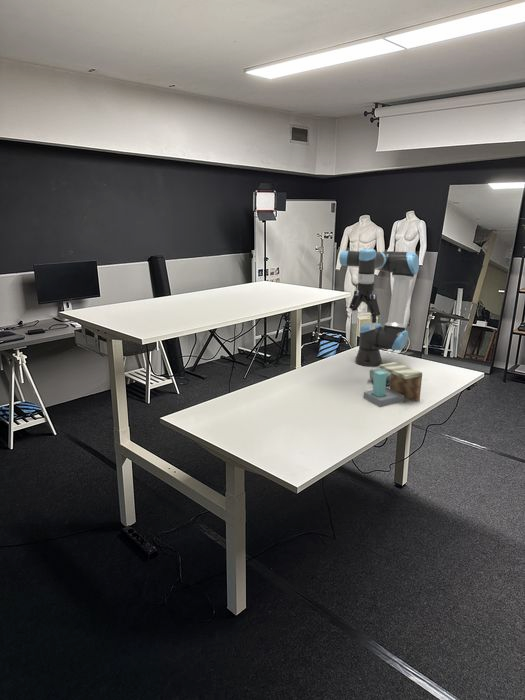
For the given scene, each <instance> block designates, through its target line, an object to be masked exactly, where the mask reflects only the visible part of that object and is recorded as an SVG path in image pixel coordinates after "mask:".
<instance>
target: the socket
mask: <svg viewBox="0 0 525 700" xmlns="http://www.w3.org/2000/svg"><path fill="white" fill-rule="evenodd" d="M363 399H365V400H367V401H368V402H371V403H372V404H374V405H375V406H378V407H379V408H380V407H385V406H389V405H393V404H399V403H404V402H405V401H404V400H405V396H404V395H402V394H400V393H398V392H396V391H394V390H392V389H390V387H387V386H386V388H385V396H384V397H380V398H378V397H376V396H374V395H373V389H372V390H367V391H364V392H363Z"/></svg>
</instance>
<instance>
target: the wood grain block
mask: <svg viewBox="0 0 525 700" xmlns="http://www.w3.org/2000/svg"><path fill="white" fill-rule="evenodd" d="M378 367H379V368H381V369H383V370H385V371H388V372H390V373H391V383H390V385H389V388H390V389H392V390H394V391H396V392H398V393H400V394H402V395H404V398H408V399H410V400H412V401H414V402H420V399H421V389H422V380H423V372H422V371H419V370H417V369H414V368H412V367H409V366H407V365H404V364H401V363H399V362H396V361H393V362H387V363H383V364H382V363H381V365H378Z"/></svg>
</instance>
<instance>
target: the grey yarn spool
mask: <svg viewBox="0 0 525 700" xmlns="http://www.w3.org/2000/svg"><path fill="white" fill-rule="evenodd" d="M377 371H383V372H385V373H387V375H386V386H390V383H391V373H390V372H388V371H385V370H383V369H381V368H379V366H372V367H371V368H370V369H369V372H368V373H369V379H370V380H371V381H372V382H373V380H374V372H377Z"/></svg>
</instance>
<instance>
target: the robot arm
mask: <svg viewBox="0 0 525 700" xmlns="http://www.w3.org/2000/svg"><path fill="white" fill-rule="evenodd" d="M338 259H339V264H340V265H341V266H344V267H345V266H346V267H357V268H358V271H357V272H358V274H357V287H356V289H357V290H354V291H353V295H352V296H353V297H352V299H351V302H350V304H349V306H348V307H349V309H351V324H352V325H353V324H358V315H359V313H358V312H359V311H358V308H359V307H360V305H361V304H362V303H365V304H366V306H367V308H368V311H369V313H370V319H369V323H365V324H362V325H361V326H360V327H359V329H360V330H359V341H358V342H359V343H358V351H357V353H356V356H355V358H354V359H355V360H354V362H355V364H357V365H359V366H364V367H379V365H382V362H383V361H382V356H381V351H380V348H381V349H386V350H392V351H402V350H403V349H404V348H405V347H406V345H407V342H408V339H409V331H407V329H406V328H407V327H406V325H405V324H404V323H405V317H406V315H405V314H406V308H407V304H408V296H409V290H410V284H411V280H413V279H414V278H415V277H414V276H415V275H417V274H418V273H419V271H420V260H419V255H417V253H416V252H411V251H410V252H409V251H391V250H390V251H389V250H388V251H377V250H375V249H371V248H362V249H360V250H359V251H357V250H342V251H341V252H340V254H339V257H338ZM375 271H381V272H385V273H392V274H391V277H392V278H393V284H392V291H391V292H392V293H391V297H390V304H389V311H388V317H387V322H386V323H384V325H383V326H382V324H381V323H377V316H381V312H380V307H379V304H378V299H377V294H372V292H373V291H374V290H375V288H374V287H375V286H374V285H375V283H374V282H375Z"/></svg>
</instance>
